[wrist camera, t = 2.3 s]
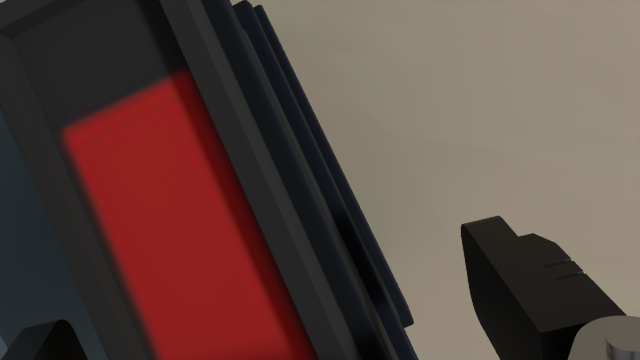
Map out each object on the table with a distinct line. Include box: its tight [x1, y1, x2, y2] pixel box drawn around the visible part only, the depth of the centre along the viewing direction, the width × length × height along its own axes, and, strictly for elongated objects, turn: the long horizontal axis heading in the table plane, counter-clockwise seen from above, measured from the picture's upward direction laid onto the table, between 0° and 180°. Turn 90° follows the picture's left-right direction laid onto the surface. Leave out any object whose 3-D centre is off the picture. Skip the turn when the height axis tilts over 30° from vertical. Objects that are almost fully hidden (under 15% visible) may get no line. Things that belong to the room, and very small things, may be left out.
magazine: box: [0, 0, 419, 360], centre depth 15 cm, size 4×13×15 cm, turn 25°
